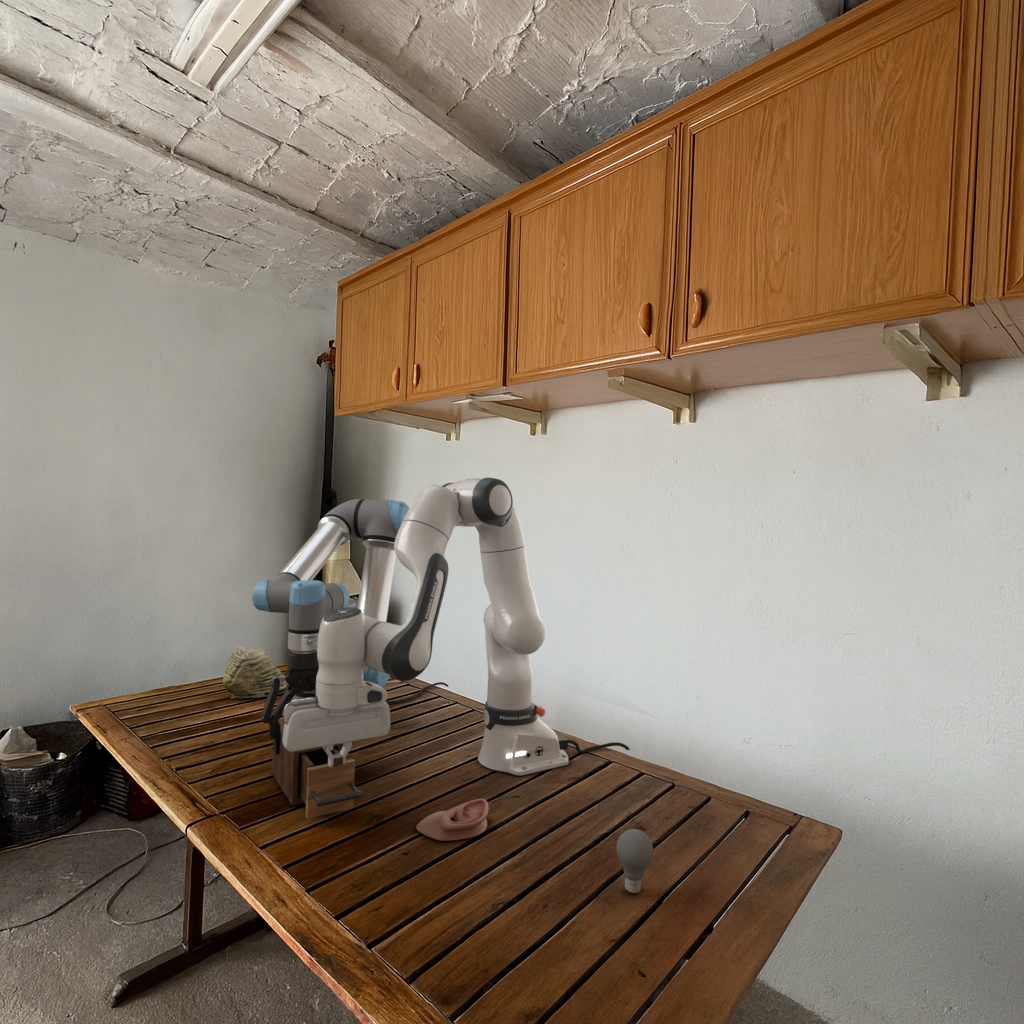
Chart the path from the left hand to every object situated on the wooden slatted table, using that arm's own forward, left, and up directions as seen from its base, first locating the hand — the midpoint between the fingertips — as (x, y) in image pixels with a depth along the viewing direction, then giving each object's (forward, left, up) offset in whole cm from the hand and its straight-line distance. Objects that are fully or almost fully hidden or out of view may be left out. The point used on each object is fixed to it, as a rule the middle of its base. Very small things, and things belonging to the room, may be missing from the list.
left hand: (301, 747), depth 143 cm
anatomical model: (-8, +40, -7) cm, 41 cm away
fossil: (-23, -60, -7) cm, 65 cm away
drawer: (+5, +16, -5) cm, 17 cm away
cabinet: (+1, +4, -7) cm, 8 cm away
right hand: (+8, +23, +5) cm, 25 cm away
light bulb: (-14, +76, -7) cm, 78 cm away
